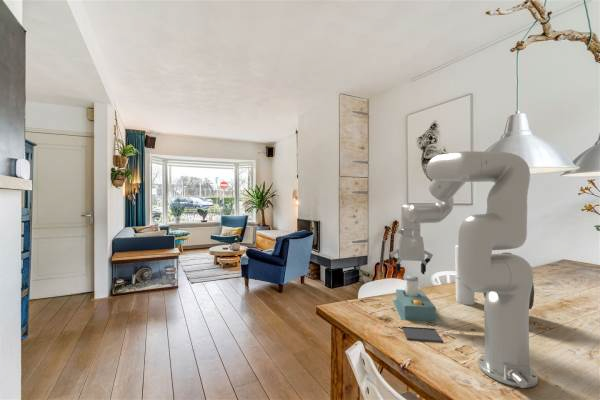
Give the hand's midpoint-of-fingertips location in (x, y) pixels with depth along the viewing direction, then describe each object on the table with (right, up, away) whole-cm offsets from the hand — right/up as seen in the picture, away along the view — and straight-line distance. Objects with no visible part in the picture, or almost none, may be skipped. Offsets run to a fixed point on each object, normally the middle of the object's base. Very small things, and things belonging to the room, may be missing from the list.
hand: (410, 272), depth 116 cm
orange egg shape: (-2, -13, -10) cm, 16 cm away
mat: (-6, -15, -22) cm, 27 cm away
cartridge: (0, -14, -1) cm, 14 cm away
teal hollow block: (0, -15, -4) cm, 16 cm away
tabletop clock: (+34, -15, -9) cm, 38 cm away
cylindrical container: (+27, -15, +6) cm, 31 cm away
